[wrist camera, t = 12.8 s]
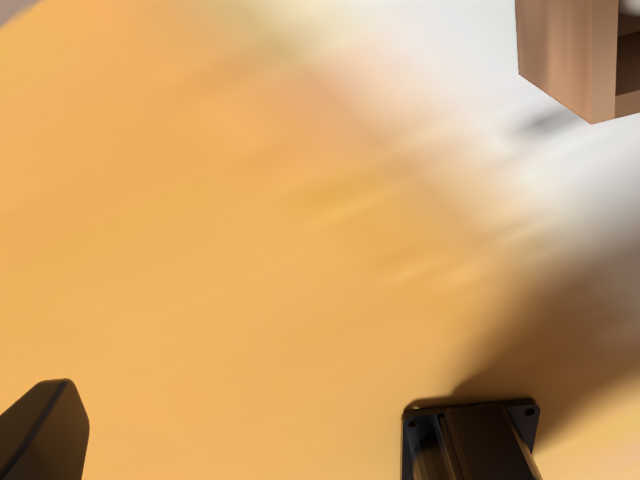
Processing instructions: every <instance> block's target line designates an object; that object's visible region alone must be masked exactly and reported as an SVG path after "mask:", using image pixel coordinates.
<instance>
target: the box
mask: <svg viewBox="0 0 640 480" xmlns="http://www.w3.org/2000/svg"><path fill="white" fill-rule="evenodd" d="M515 14H516V32H517V50H518V68H519V75H521V76H522V77H524V78H525V79H526V80H528V81H529V82H531V83H532V84H534V85H535V86H536V87H538V88H539V89H541V90H542V91H544V92H545V93H546V94H548V95H549V96H551V97H552V98H554V99H555V100H557V101H558V102H559V103H561V104H562V105H564V106H565V107H567V108H568V109H569V110H571V111H572V112H574V113H575V114H577V115H578V116H579V117H581V118H582V119H584V120H585V121H587V122H588V123H589V124H595V123H599V122H603V121H607V120H611V119H615V118H619V117H623V116H627V115H631V114H635V113H639V112H640V17H631V16H625V15H622V14H619V13H618V0H515Z"/></svg>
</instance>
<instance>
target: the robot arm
mask: <svg viewBox="0 0 640 480" xmlns="http://www.w3.org/2000/svg"><path fill="white" fill-rule="evenodd" d="M539 414H540V408H539V406H538V404H537V402H536V401H535V400H534V399H532V398H524V399H514V400H504V401H494V402H484V403H474V404H464V405H453V406H443V407H433V408H423V409H413V410H408V411H406V412H404V413H403V415H402V417H401V455H400V480H543V479H542V476H541V474H540V472H539V470H538V468H537V466H536V464H535V461H534V459H533V457H532V450H533V444H534V439H535V434H536V429H537V424H538V419H539ZM411 420H413V421H411ZM89 429H90V427H89V419H88V416H87V413H86V411H85V408H84V406H83V403H82V401H81V398H80V396H79V393H78V391H77V388H76V386H75V384H74V382H73V381H72V380H70V379H67V378H64V379H53V380H44V381H41V382H39V383H37V384H36V385H35V386H33V387H32V388H31V389H30V390H29V391H28V392H26V393H25V394H24V395H23V396H22V397H21V398H20V399H18V400H17V401H16V402H15V403H14V404H13V405H11V406H10V407H9V408H8V409H7V410H6V411H5V412H3V413H2V414H1V415H0V480H81V479H82V474H83V468H84V462H85V456H86V450H87V445H88V439H89Z"/></svg>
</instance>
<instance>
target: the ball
mask: <svg viewBox="0 0 640 480" xmlns="http://www.w3.org/2000/svg"><path fill="white" fill-rule="evenodd" d="M618 13H619V14H622V15H625V16H631V17H640V0H618Z"/></svg>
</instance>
